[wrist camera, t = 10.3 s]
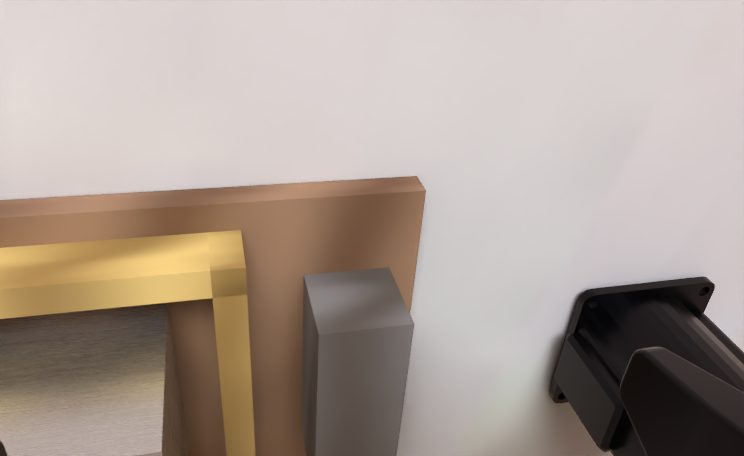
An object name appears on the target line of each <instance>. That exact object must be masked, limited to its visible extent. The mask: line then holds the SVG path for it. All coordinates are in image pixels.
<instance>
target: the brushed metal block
mask: <svg viewBox="0 0 744 456" xmlns="http://www.w3.org/2000/svg"><path fill="white" fill-rule="evenodd" d="M0 441H1V442H2V443H3V445H4V447H5V450H6V452H7V455H8V456H188V436H187V429H186V423H185V416H184V409H183V402H182V395H181V388H180V382H179V375H178V368H177V361H176V354H175V347H174V341H173V334H172V327H171V320H170V313H169V306H168V303H158V304H148V305H138V306H128V307H117V308H107V309H97V310H87V311H77V312H67V313H56V314H46V315H36V316H26V317H16V318H6V319H0Z"/></svg>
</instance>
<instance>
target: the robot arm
mask: <svg viewBox="0 0 744 456" xmlns="http://www.w3.org/2000/svg"><path fill="white" fill-rule="evenodd" d="M714 288H715V286H714V284H713V283H712V282H711V281H710V280H709V279H708V278H706V277H695V278H686V279H677V280H668V281H659V282H650V283H641V284H632V285H623V286H614V287H605V288H596V289H589V290H586V291H585V292H583V293H582V294H581V295H580V296H579V298H578V300H577V304H576V307H575V310H574V313H573V316H572V320H571V323H570V326H569V329H568V332H567V336H566V339H565V342H564V345H563V348H562V352H561V355H560V358H559V361H558V364H557V367H556V371H555V374H554V377H553V380H552V383H551V387H550V390H549V394H550V396H551V398H552V399H553V401H554V402H555V403H565V402H569V403H570V404H571V406H572V407H573V409H574V411H575V412H576V414H577V415H578V417H579V418H580V420H581V421H582V423H583V424H584V426H585V428H586V429H587V431H588V432H589V434H590V435H591V437H592V438H593V440H594V442H595V443H596V445H597V446H598V447H599V448H600V449H601V450H602V451H604V452H607V451H611V453H612V454H613V456H744V352H743V351H742V350H741V349H740V348H739V347H738V346H736V345H735V344H734V343H733V342H732V341H731V340H730V339H729V338H728V337H727V336H726V335H725V334H724V333H723V332H722V331H721V330H720V329H719V328H718V327H717V326H716V325H715V324H714V323H713V322H712V321H711V320H710V319H709V318H708V317H707V316H706V315H705V314H704V311H705V309H706V306H707V304H708V302H709V300H710V298H711V296H712V293H713V291H714ZM0 456H8V455H7V452H6V450H5V447H4V445H3V443H2V442H1V441H0Z"/></svg>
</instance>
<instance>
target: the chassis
mask: <svg viewBox="0 0 744 456" xmlns="http://www.w3.org/2000/svg"><path fill="white" fill-rule="evenodd" d="M425 193H426V190H425V188H424V187H423V185H422V184H421V182H420V181H419V179H418V177H417V176H412V177H395V178H378V179H361V180H343V181H326V182H309V183H292V184H275V185H257V186H240V187H223V188H206V189H189V190H171V191H154V192H137V193H120V194H103V195H85V196H68V197H51V198H34V199H17V200H0V319H6V318H16V317H26V316H36V315H46V314H56V313H67V312H77V311H87V310H97V309H107V308H117V307H128V306H138V305H148V304H158V303H168V306H169V313H170V320H171V327H172V334H173V341H174V347H175V354H176V361H177V368H178V375H179V382H180V388H181V395H182V402H183V409H184V416H185V423H186V429H187V436H188V456H396V453H397V446H398V439H399V431H400V424H401V417H402V409H403V402H404V395H405V387H406V380H407V373H408V365H409V358H410V351H411V343H412V336H413V329H414V322H413V320H412V318H411V316H410V309H411V301H412V293H413V286H414V278H415V270H416V263H417V255H418V247H419V239H420V232H421V224H422V216H423V209H424V201H425Z"/></svg>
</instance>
